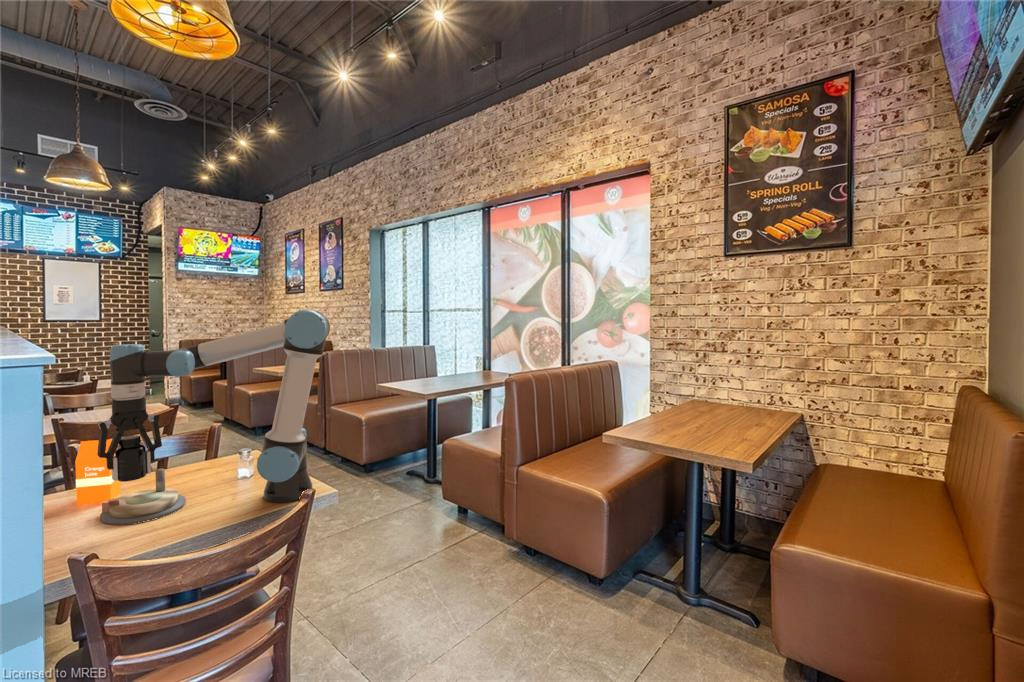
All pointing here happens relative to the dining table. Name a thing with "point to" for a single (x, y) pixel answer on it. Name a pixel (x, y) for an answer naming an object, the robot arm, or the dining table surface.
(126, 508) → the turntable
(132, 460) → the supplement bottle
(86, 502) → the orange juice
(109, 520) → the base
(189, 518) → the dining table surface
